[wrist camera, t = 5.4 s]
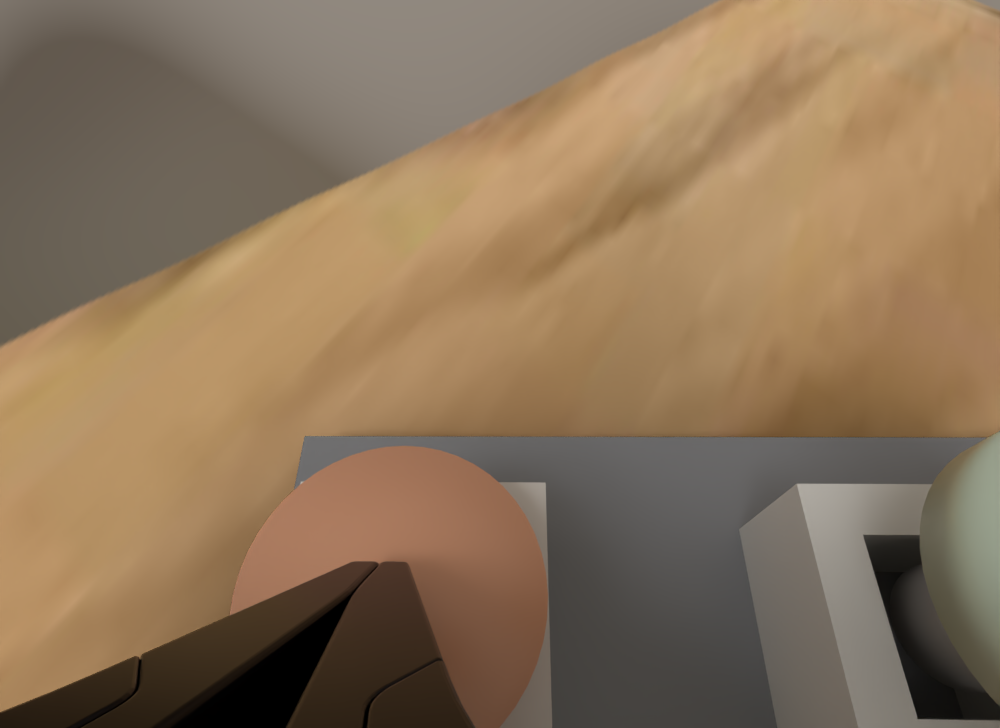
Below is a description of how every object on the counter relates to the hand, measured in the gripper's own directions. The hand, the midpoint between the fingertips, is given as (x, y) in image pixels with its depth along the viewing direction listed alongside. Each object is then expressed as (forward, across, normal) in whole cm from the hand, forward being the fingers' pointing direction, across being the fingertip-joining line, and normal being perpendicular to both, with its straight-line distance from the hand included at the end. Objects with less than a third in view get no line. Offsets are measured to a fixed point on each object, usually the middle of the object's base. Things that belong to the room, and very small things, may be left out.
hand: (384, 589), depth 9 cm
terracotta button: (+3, 0, -3) cm, 5 cm away
